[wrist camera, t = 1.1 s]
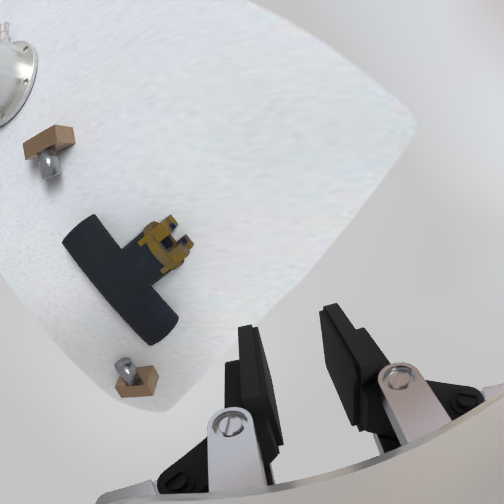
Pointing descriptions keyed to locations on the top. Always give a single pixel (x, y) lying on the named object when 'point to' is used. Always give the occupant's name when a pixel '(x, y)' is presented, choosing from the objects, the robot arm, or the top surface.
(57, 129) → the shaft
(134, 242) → the pipe connector
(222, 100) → the top surface
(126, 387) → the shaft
